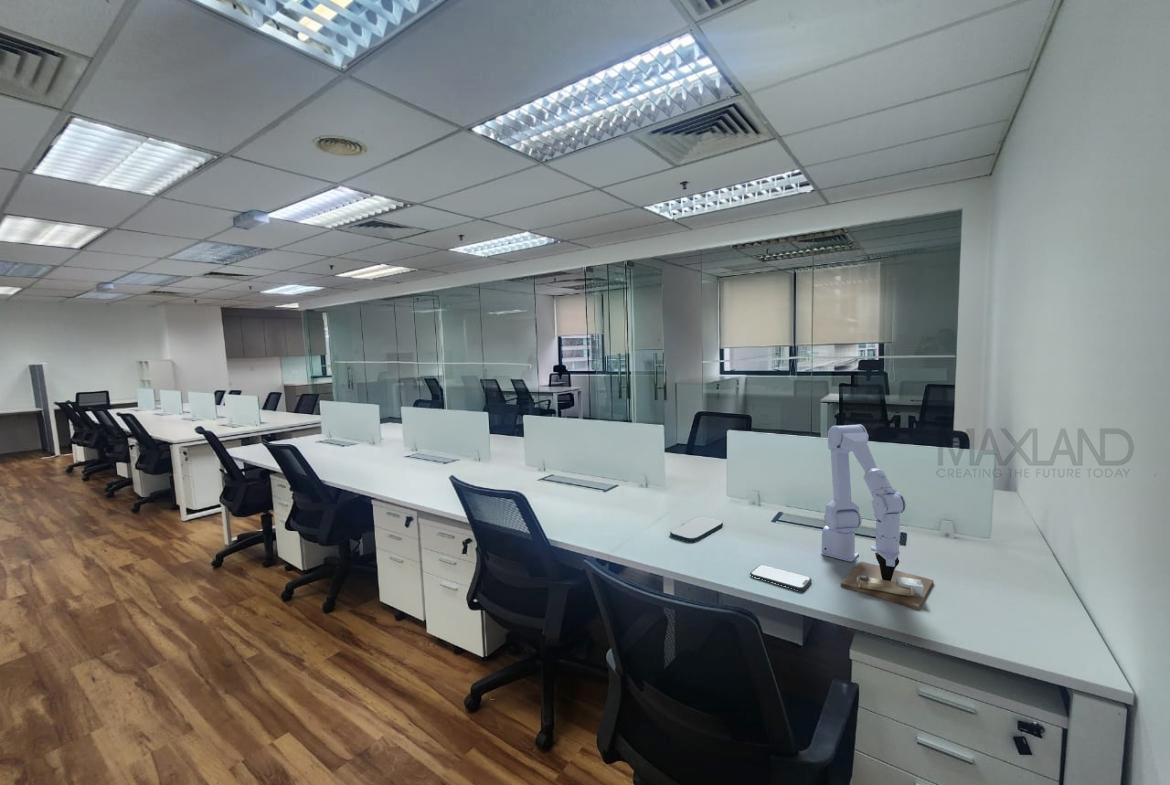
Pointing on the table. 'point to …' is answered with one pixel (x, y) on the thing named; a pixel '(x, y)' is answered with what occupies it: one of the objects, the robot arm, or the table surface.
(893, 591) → the pivot link
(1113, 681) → the table surface
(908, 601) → the walnut board
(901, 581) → the keeper
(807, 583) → the phone case
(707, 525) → the external hard drive
